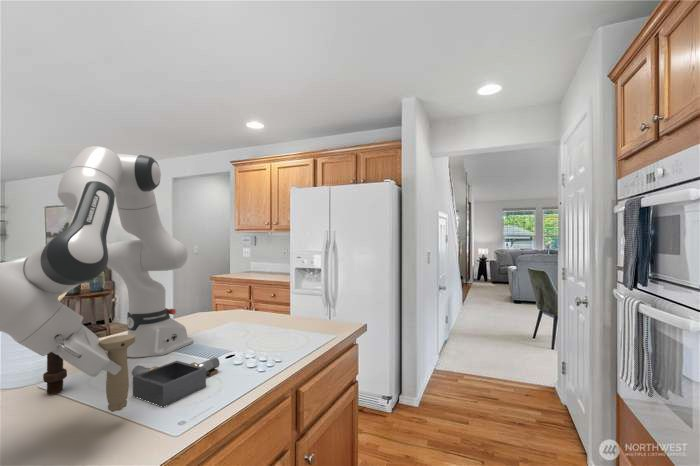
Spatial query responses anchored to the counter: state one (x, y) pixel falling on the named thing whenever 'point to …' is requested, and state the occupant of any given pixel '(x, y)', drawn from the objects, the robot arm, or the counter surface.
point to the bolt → (54, 374)
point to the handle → (120, 381)
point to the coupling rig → (171, 380)
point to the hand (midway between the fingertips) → (116, 367)
